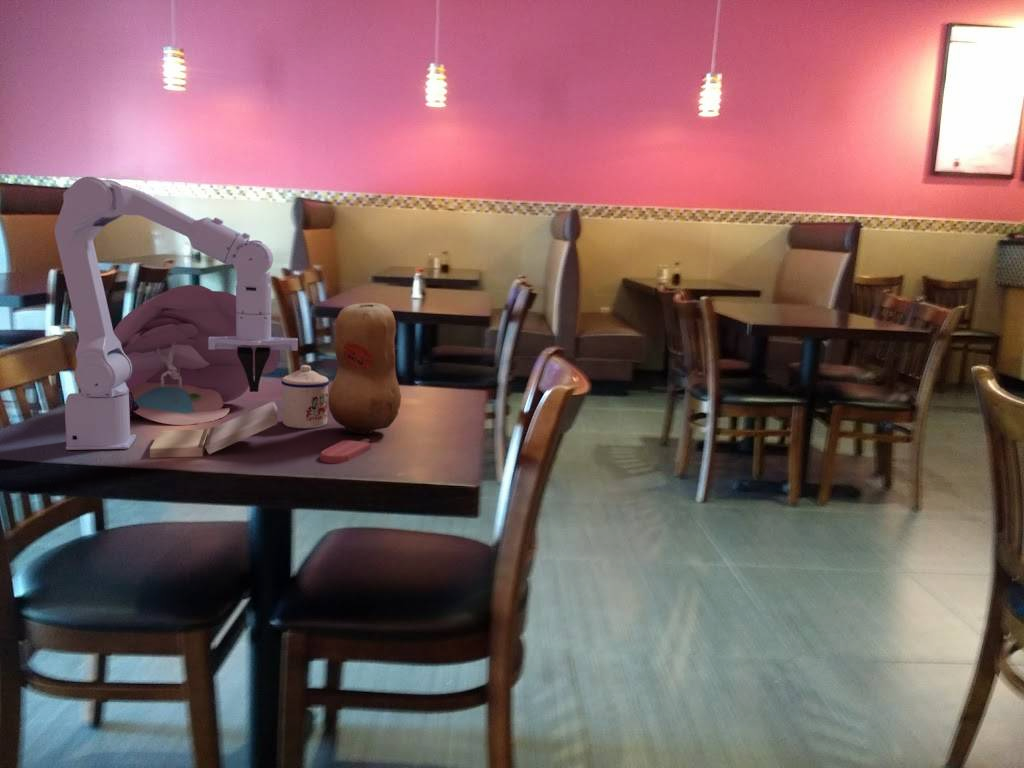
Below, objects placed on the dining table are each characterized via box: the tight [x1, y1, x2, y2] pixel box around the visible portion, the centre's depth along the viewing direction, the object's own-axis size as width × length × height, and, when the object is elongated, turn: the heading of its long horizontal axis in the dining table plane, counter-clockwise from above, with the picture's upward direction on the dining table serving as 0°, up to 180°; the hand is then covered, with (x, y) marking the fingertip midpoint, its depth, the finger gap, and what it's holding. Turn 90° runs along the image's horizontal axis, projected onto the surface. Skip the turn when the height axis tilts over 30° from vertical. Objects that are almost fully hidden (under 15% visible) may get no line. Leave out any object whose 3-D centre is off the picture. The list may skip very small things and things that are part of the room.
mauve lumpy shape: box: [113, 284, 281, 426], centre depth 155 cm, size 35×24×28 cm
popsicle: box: [319, 438, 371, 464], centre depth 137 cm, size 5×2×15 cm
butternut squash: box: [328, 302, 402, 435], centre depth 149 cm, size 14×13×25 cm
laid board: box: [149, 428, 210, 459], centre depth 134 cm, size 8×12×2 cm, turn 17°
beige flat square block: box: [205, 400, 278, 455], centre depth 136 cm, size 12×12×2 cm
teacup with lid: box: [281, 364, 330, 429], centre depth 155 cm, size 12×9×12 cm
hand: (254, 390), depth 136 cm, fingers closed
